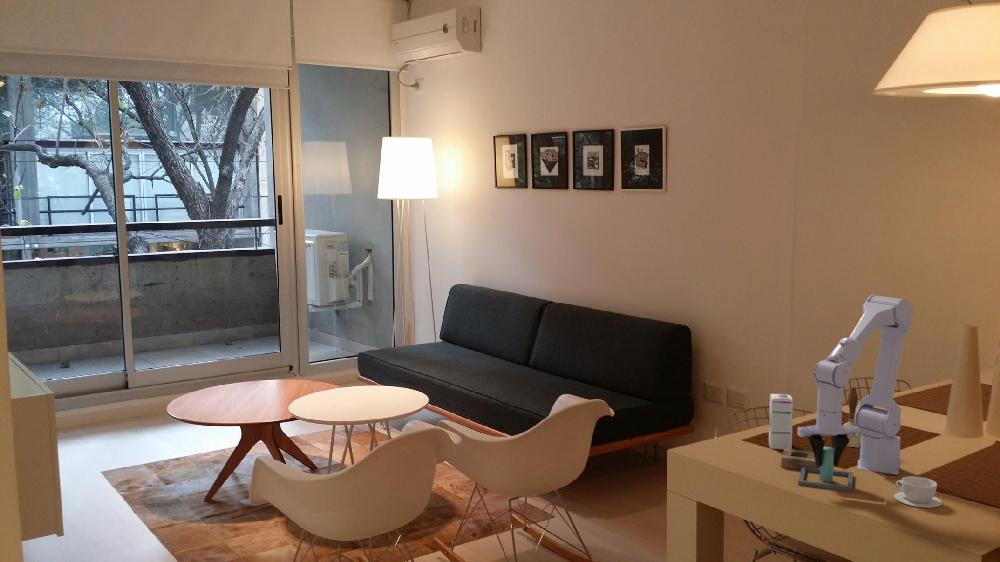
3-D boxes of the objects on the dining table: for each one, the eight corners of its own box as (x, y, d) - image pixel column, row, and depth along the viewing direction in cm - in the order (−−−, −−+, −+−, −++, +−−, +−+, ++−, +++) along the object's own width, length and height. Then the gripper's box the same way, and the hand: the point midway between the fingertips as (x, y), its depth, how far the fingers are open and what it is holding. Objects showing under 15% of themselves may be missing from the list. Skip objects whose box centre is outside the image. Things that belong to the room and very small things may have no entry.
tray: (852, 477, 219) (853, 472, 219) (851, 493, 208) (852, 488, 208) (801, 471, 224) (801, 465, 224) (798, 486, 213) (798, 481, 213)
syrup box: (792, 451, 240) (794, 399, 238) (769, 450, 241) (771, 398, 239) (789, 445, 245) (792, 394, 243) (767, 444, 246) (769, 392, 245)
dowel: (828, 478, 218) (831, 446, 217) (834, 482, 215) (837, 450, 214) (817, 478, 217) (819, 446, 216) (822, 482, 214) (825, 450, 213)
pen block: (816, 463, 230) (816, 452, 230) (814, 472, 223) (814, 461, 222) (783, 459, 233) (784, 448, 233) (781, 468, 226) (781, 457, 225)
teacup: (947, 501, 205) (949, 481, 204) (933, 513, 197) (935, 492, 197) (902, 490, 211) (903, 471, 211) (887, 501, 204) (888, 481, 203)
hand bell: (829, 443, 247) (832, 387, 246) (844, 437, 253) (847, 382, 251) (858, 450, 241) (861, 392, 239) (872, 444, 247) (875, 388, 245)
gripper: (851, 405, 218) (848, 458, 220) (793, 406, 217) (791, 459, 219) (864, 413, 211) (861, 468, 213) (804, 413, 210) (802, 469, 212)
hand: (826, 464), depth 216 cm, fingers open, 3 cm apart
